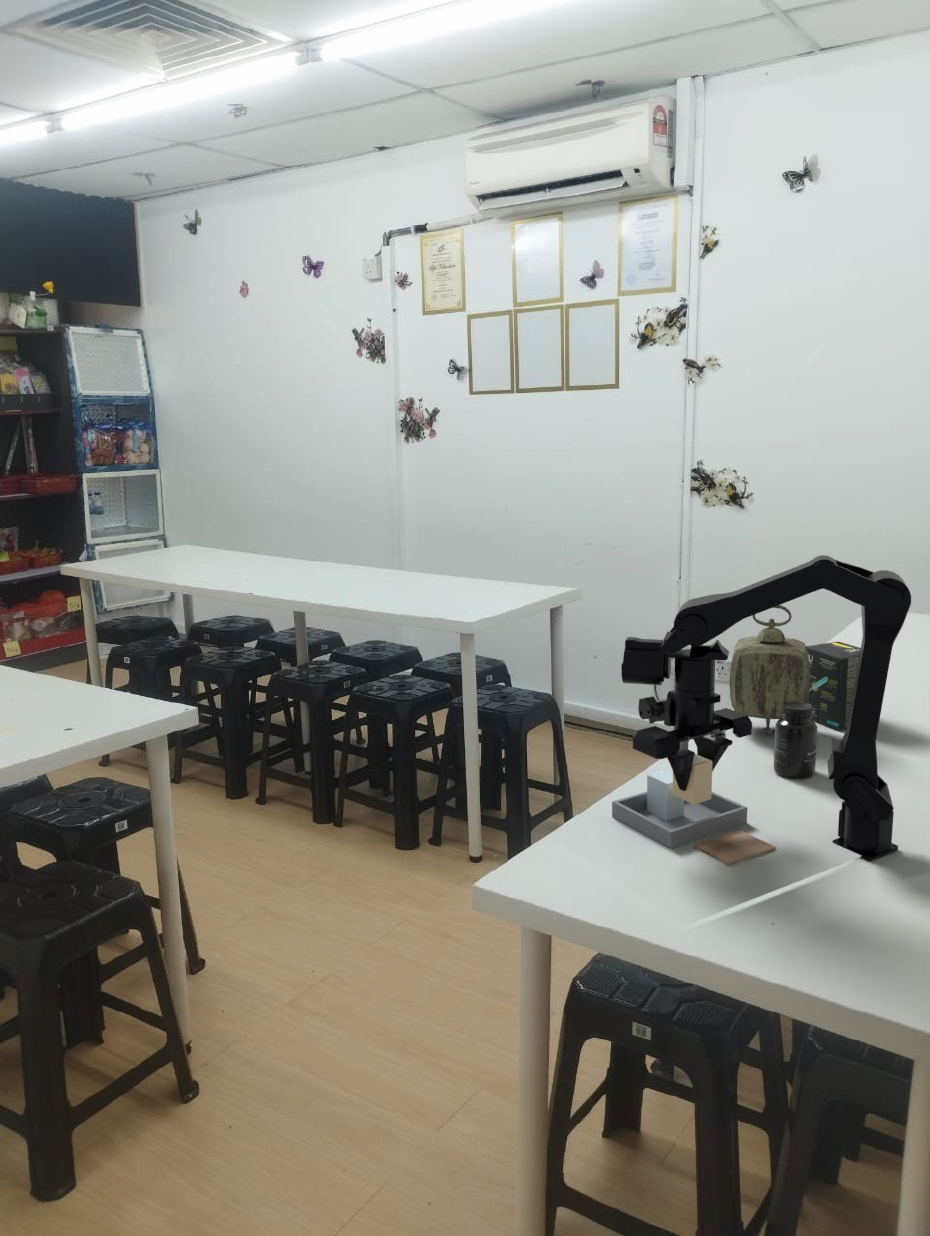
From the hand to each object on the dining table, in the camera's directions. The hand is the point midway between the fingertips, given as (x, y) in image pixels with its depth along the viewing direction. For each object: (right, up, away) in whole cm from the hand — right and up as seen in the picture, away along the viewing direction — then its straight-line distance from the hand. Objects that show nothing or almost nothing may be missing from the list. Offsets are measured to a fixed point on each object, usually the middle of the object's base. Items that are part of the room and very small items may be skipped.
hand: (692, 787), depth 144 cm
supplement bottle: (+23, -2, +22) cm, 32 cm away
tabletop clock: (+24, +3, +42) cm, 49 cm away
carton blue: (-3, -5, +6) cm, 9 cm away
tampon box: (+40, +5, +48) cm, 62 cm away
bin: (-1, -6, +4) cm, 7 cm away
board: (+5, -8, -6) cm, 11 cm away
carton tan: (0, -2, 0) cm, 2 cm away
